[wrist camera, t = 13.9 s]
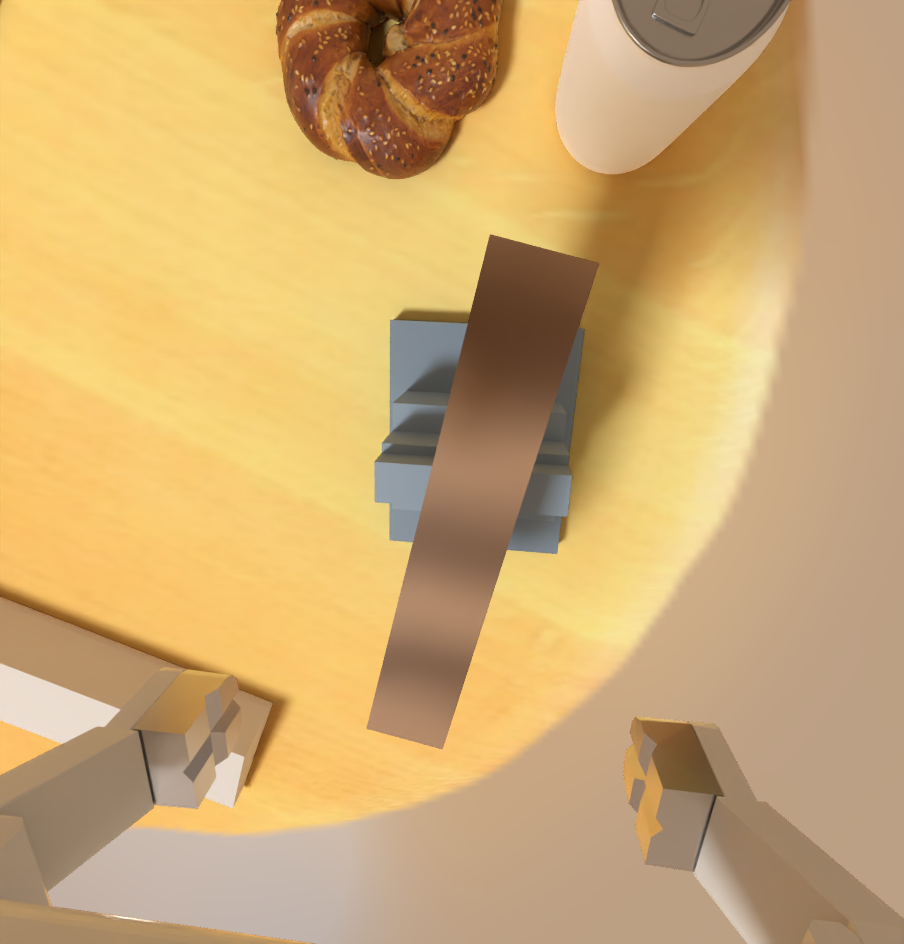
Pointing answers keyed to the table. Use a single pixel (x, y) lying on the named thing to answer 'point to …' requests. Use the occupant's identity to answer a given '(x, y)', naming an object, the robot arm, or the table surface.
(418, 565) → the walnut bar
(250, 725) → the beige long block
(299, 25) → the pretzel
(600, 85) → the can
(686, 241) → the table surface
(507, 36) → the table surface
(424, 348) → the gray stepped block
